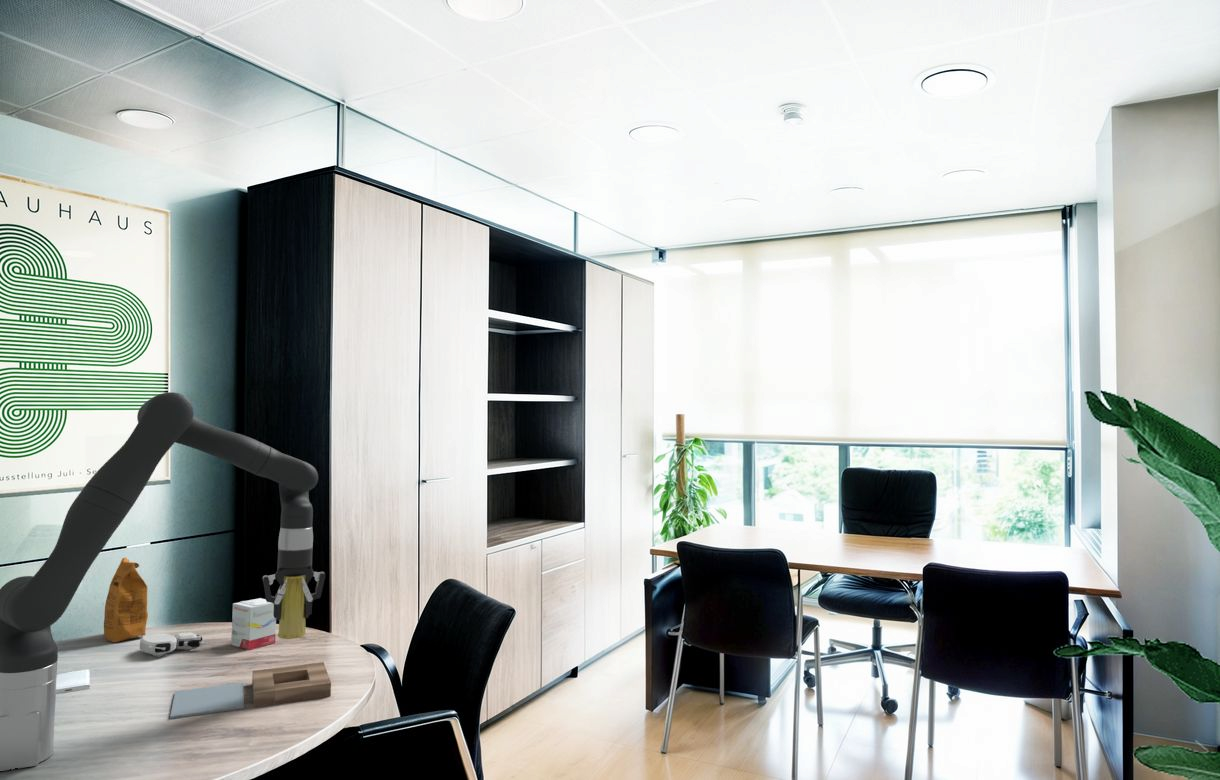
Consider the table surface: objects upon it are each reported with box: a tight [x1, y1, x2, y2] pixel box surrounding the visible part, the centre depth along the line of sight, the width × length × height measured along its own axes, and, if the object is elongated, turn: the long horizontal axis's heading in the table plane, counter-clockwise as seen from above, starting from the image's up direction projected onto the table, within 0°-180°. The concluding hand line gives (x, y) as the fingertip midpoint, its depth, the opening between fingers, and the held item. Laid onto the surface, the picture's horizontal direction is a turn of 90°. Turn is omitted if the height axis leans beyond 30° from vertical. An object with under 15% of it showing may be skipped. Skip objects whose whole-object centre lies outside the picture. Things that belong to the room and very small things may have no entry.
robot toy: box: [137, 631, 207, 657], centre depth 202 cm, size 12×4×15 cm
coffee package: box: [103, 557, 149, 643], centre depth 214 cm, size 10×12×22 cm
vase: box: [277, 575, 307, 640], centre depth 176 cm, size 6×6×14 cm
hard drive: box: [56, 669, 91, 695], centre depth 176 cm, size 2×8×12 cm
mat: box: [169, 682, 245, 720], centre depth 167 cm, size 16×14×1 cm
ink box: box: [230, 597, 277, 651], centre depth 210 cm, size 9×9×12 cm
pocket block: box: [251, 661, 332, 708], centre depth 175 cm, size 16×16×3 cm
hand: (292, 618), depth 176 cm, fingers closed on vase, 5 cm apart
